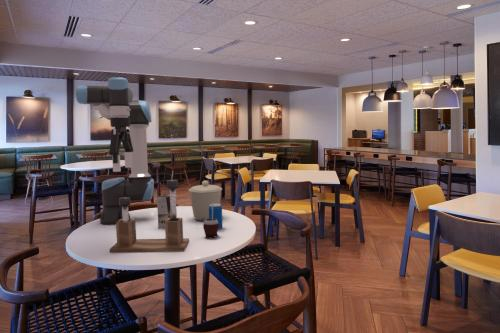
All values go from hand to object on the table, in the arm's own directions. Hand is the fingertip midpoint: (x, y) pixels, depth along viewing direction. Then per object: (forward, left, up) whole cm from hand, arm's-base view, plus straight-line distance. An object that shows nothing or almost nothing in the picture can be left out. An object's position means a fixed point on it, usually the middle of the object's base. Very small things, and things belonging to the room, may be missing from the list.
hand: (123, 169), depth 144 cm
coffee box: (-31, +10, -33) cm, 46 cm away
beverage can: (-25, +35, -33) cm, 54 cm away
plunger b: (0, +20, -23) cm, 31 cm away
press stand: (0, +10, -33) cm, 34 cm away
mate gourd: (-13, +34, -33) cm, 49 cm away
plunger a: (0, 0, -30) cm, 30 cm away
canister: (-45, +28, -33) cm, 62 cm away
